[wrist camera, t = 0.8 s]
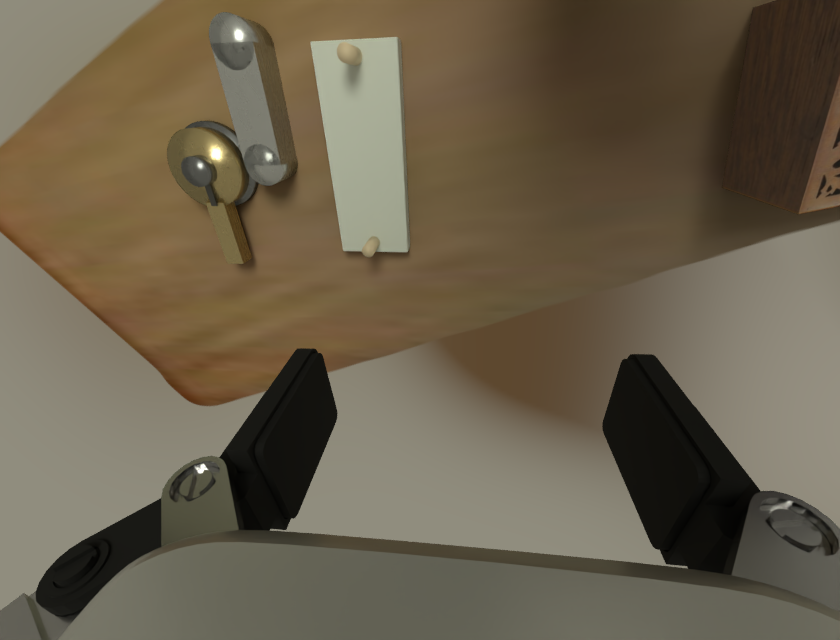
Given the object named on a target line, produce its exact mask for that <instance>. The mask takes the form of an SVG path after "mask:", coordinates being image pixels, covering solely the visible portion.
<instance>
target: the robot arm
mask: <svg viewBox="0 0 840 640" xmlns="http://www.w3.org/2000/svg"><path fill="white" fill-rule="evenodd" d="M336 420H337V409H336V405H335V401H334V397H333V393H332V390H331V386H330V382H329V378H328V374H327V371H326V367H325V363H324V359H323V356H322V354H321V353H318V352H317V350H316V349H297V350H296V351H295V352H294V353H293V355H292V356H291V358H290V359H289V360H288V362H287V363H286V365H285V366H284V368H283V369H282V370H281V372H280V373H279V375H278V376H277V377H276V379H275V380H274V382H273V383H272V385H271V386H270V387H269V389H268V390H267V391H266V392H265V394H264V395H263V397H262V398H261V399H260V401H259V402H258V404H257V405H256V407H255V408H254V409H253V411H252V413H251V414H250V415H249V416H248V418H247V419H246V421H245V422H244V424H243V425H242V427H241V428H240V429H239V431H238V432H237V434H236V435H235V436H234V438H233V439H232V441H231V442H230V443H229V445H228V446H227V448H226V449H225V450H224V452H223V453H222V455H221V456H220V457H214V456H208V457H202V458H199V459H196V460H193V461H191V462H190V463H188V464H186V465H184V466H183V467H182V468H180V469H179V470H178V471H177V472H175V473H174V474H173V476H172V477H171V478H170V479H169V480H168V482H167V483H166V485H165V487H164V488H163V492H162V497H161V499H159V500H157V501H155V502H153V503H152V504H150V505H148V506H146V507H144V508H142V509H141V510H139V511H137V512H135V513H133V514H131V515H129V516H127V517H126V518H124V519H122V520H120V521H118V522H117V523H115V524H113V525H111V526H109V527H107V528H106V529H103V530H102V531H100V532H98V533H96V534H94V535H92V536H90V537H89V538H87V539H85V540H83V541H81V542H80V543H78V544H77V545H75V546H74V547H72V548H70V549H69V550H68V551H67V552H65V553H64V554H63V555H62V556H60V557H59V558H58V559H57V560H56V561H55V562H54V563H53V565H52V566H51V567H50V568H49V569H48V570H47V571H46V573H45V574H44V576H43V577H42V579H41V581H40V582H39V585H38V587H37V590H36V592H34V593H33V594H31V595H30V596H28V595H26V594H25V593H23V594H22V595H21V596H19V597H18V598H17V599H15V600H14V601H13V602H11V603H10V604H9V605H7V606H6V607H5V608H3V609H2V610H1V611H0V640H840V529H839V528H838V527H837V526H836V525H835V524H834V522H833V521H832V520H831V519H829V518H828V517H827V516H826V515H824V514H823V513H821V512H820V511H819V510H818V509H816V508H815V507H813V506H811V505H809V504H807V503H806V502H804V501H802V500H800V499H797V498H795V497H793V496H790V495H787V494H784V493H780V492H775V491H760V490H759V488H758V487H757V486H756V485H755V483H754V482H753V481H752V479H751V478H750V477H749V476H748V474H747V473H746V472H745V470H744V469H743V468H742V467H741V465H740V464H739V463H738V461H737V460H736V459H735V458H734V456H733V455H732V454H731V452H730V451H729V450H728V448H727V447H726V446H725V445H724V443H723V442H722V441H721V439H720V438H719V437H718V436H717V434H716V433H715V432H714V430H713V429H712V428H711V427H710V425H709V424H708V423H707V421H706V420H705V419H704V418H703V416H702V415H701V414H700V412H699V411H698V410H697V408H696V407H695V406H694V405H693V404H692V403H691V401H690V400H689V399H688V398H687V396H686V395H685V394H684V392H683V391H682V390H681V389H680V387H679V386H678V385H677V384H676V382H675V381H674V380H673V378H672V377H671V376H670V374H669V373H668V372H667V370H666V369H665V368H664V367H663V365H662V364H661V363H660V361H659V360H658V359H657V358H656V357H655V356H654V355H644V354H632V355H630V356H629V357H628V359H624V360H622V362H621V365H620V368H619V371H618V374H617V378H616V381H615V384H614V387H613V391H612V394H611V397H610V400H609V404H608V407H607V410H606V413H605V417H604V420H603V432H604V435H605V437H606V439H607V442H608V444H609V447H610V449H611V451H612V454H613V456H614V458H615V461H616V463H617V465H618V467H619V470H620V472H621V475H622V477H623V479H624V482H625V484H626V486H627V489H628V491H629V493H630V496H631V498H632V500H633V503H634V505H635V507H636V510H637V512H638V514H639V516H640V519H641V521H642V523H643V526H644V528H645V531H646V533H647V535H648V538H649V540H650V542H651V544H652V546H653V547H654V548H655V549H660V551H661V554H662V556H663V558H664V560H665V562H666V564H670V565H682V566H687V567H688V569H686V568H677V567H668V566H659V565H650V564H641V563H632V562H623V561H613V560H603V559H592V558H581V557H571V556H561V555H550V554H539V553H529V552H519V551H508V550H497V549H485V548H475V547H463V546H453V545H441V544H430V543H419V542H408V541H395V540H384V539H372V538H361V537H349V536H337V535H325V534H312V533H297V532H281V531H269V530H270V529H282V530H286V529H287V526H288V524H289V522H290V519H291V518H295V517H296V516H297V514H298V512H299V510H300V507H301V505H302V502H303V500H304V498H305V495H306V493H307V490H308V488H309V486H310V483H311V481H312V478H313V476H314V473H315V471H316V469H317V466H318V464H319V461H320V459H321V457H322V454H323V452H324V449H325V447H326V445H327V442H328V440H329V437H330V435H331V432H332V430H333V428H334V425H335V423H336Z"/></svg>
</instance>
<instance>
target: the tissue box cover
mask: <svg viewBox="0 0 840 640" xmlns="http://www.w3.org/2000/svg"><path fill="white" fill-rule="evenodd" d="M722 188H725V189H727V190H730V191H733V192H736V193H739V194H742V195H745V196H747V197H750V198H753V199H756V200H759V201H762V202H765V203H767V204H770V205H773V206H776V207H779V208H782V209H785V210H787V211H790V212H793V213H796V214H803V213H808V212H813V211H818V210H823V209H829V208H834V207H839V206H840V0H776V1H773V2H770V3H767V4H763V5H760V6H757V7H754V8H753V12H752V18H751V23H750V29H749V35H748V41H747V46H746V52H745V58H744V64H743V69H742V75H741V81H740V87H739V92H738V98H737V104H736V110H735V116H734V121H733V127H732V133H731V139H730V144H729V150H728V156H727V162H726V167H725V173H724V179H723V185H722Z"/></svg>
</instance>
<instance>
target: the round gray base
mask: <svg viewBox="0 0 840 640" xmlns="http://www.w3.org/2000/svg"><path fill="white" fill-rule="evenodd" d="M195 127H209V128H213V129H216V130H218V131H220V132H222V133H223V134H225V135H226V136H227V137H229V138H230V139H231V140H232V141H233V142H234V143H235V144H236V145H237V147H238V148H239V149H240V146H239V143H238V139H237V135H236V132H235V131H233V130H232V129H230V128H229V127H227V126H225V125H223V124H221V123H218V122H214V121H200V122H195V123H192V124H190V125H188V126H187V127H186V128H195ZM240 151H241V150H240ZM257 186H258V182H256V181H255V180H254V179H253V178H252V177H251V176H250V175H249V185H248V189H247V191H246V193H245V194H244V196H243V197H241V198H240V199H239V200H237V201H235V205H239V204H242V203H244V202H246V201H247V200H249V199H250V198H251V197H252V196H253V195H254V193H255V191H256V189H257Z"/></svg>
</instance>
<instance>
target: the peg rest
mask: <svg viewBox="0 0 840 640" xmlns="http://www.w3.org/2000/svg"><path fill="white" fill-rule="evenodd" d="M311 49H312V55H313V61H314V68H315V74H316V80H317V87H318V93H319V99H320V106H321V112H322V119H323V125H324V131H325V138H326V144H327V150H328V157H329V163H330V170H331V176H332V182H333V189H334V195H335V201H336V208H337V214H338V221H339V227H340V233H341V240H342V246H343V251H362V253H363V255H364V256H366V257H372V256H373V255H374V253H375V252H408V250H409V248H410V232H409V209H408V187H407V164H406V142H405V119H404V97H403V74H402V52H401V40H400V39H399V38H398V37H389V38H370V39H352V40H333V41H314V42H311Z"/></svg>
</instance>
